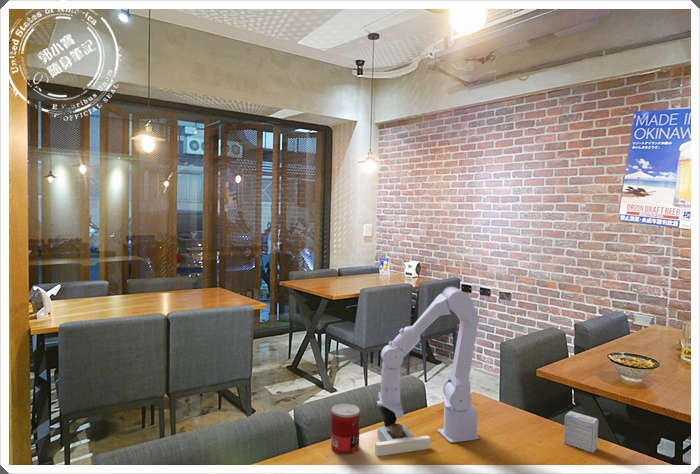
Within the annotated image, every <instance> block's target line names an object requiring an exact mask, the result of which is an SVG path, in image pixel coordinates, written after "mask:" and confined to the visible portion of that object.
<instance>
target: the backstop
mask: <svg viewBox="0 0 700 474" xmlns="http://www.w3.org/2000/svg"><path fill="white" fill-rule="evenodd" d="M428 449H431V437H430V436H429V435H428V434H427V435H421V436H414V437H412V438H405V439H398V440H391V441H384V442H381V441H377V442H374V454H375V456H376V457H381V456H383V457H384V456H389V455H396V454H402V453H408V452H416V451H423V450H428Z"/></svg>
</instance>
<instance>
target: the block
mask: <svg viewBox="0 0 700 474" xmlns="http://www.w3.org/2000/svg"><path fill="white" fill-rule="evenodd" d="M401 425H402V438H397V439H392V437H391V436H390V428H391V426H387V427H385V426H380V427H377V439H378V440H379V442H384V441H391V440H398V439H405V438H412V437H415V436H414V435H413V433H411V431H410V430H409V429H408V428H407V426H405V425H404V424H401Z"/></svg>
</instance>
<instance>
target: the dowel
mask: <svg viewBox="0 0 700 474" xmlns="http://www.w3.org/2000/svg"><path fill="white" fill-rule="evenodd" d="M402 425H403V424H400V423H396V422H395V424H391V428H390V436H391V437H392V439H397V438H402Z"/></svg>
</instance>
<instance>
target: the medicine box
mask: <svg viewBox="0 0 700 474" xmlns="http://www.w3.org/2000/svg"><path fill="white" fill-rule="evenodd" d="M598 433H599V419H598V418H596V417H593V416H590V415H586V414H582V413H578V412H576V411H571V410H570V411H568V412H567V413H566V414H565V415H564V433H563V434H564V435H563V444H564V443H565V445H567V444H568V446H570V445H571V447H573V446H574V448H576V447H577V449H579V448H580V450H582V449H583V450H582V451H586V452H588V453H591V454H594V453H595V451H597V449H598V437H599V436H598Z"/></svg>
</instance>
